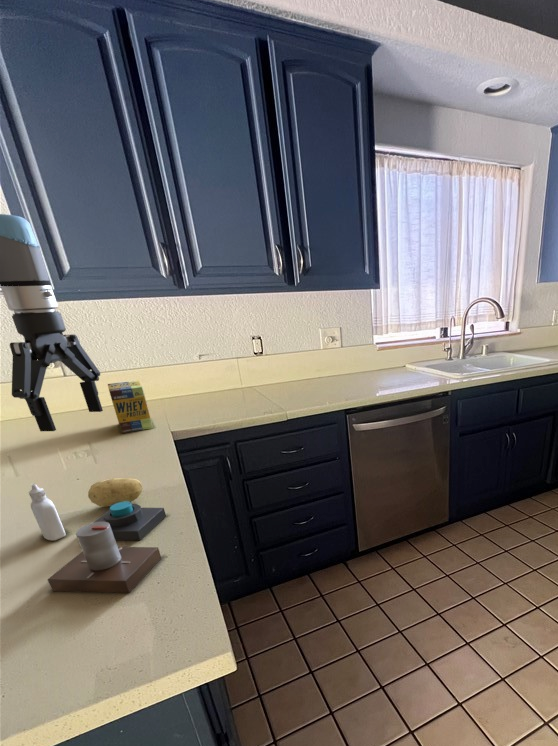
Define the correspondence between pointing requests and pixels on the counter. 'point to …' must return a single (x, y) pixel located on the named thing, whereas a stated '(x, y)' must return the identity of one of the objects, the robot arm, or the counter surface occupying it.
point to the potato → (114, 491)
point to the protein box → (130, 406)
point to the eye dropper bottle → (46, 514)
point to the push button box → (133, 522)
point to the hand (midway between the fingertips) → (74, 420)
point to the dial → (98, 545)
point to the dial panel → (106, 572)
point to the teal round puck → (121, 509)
